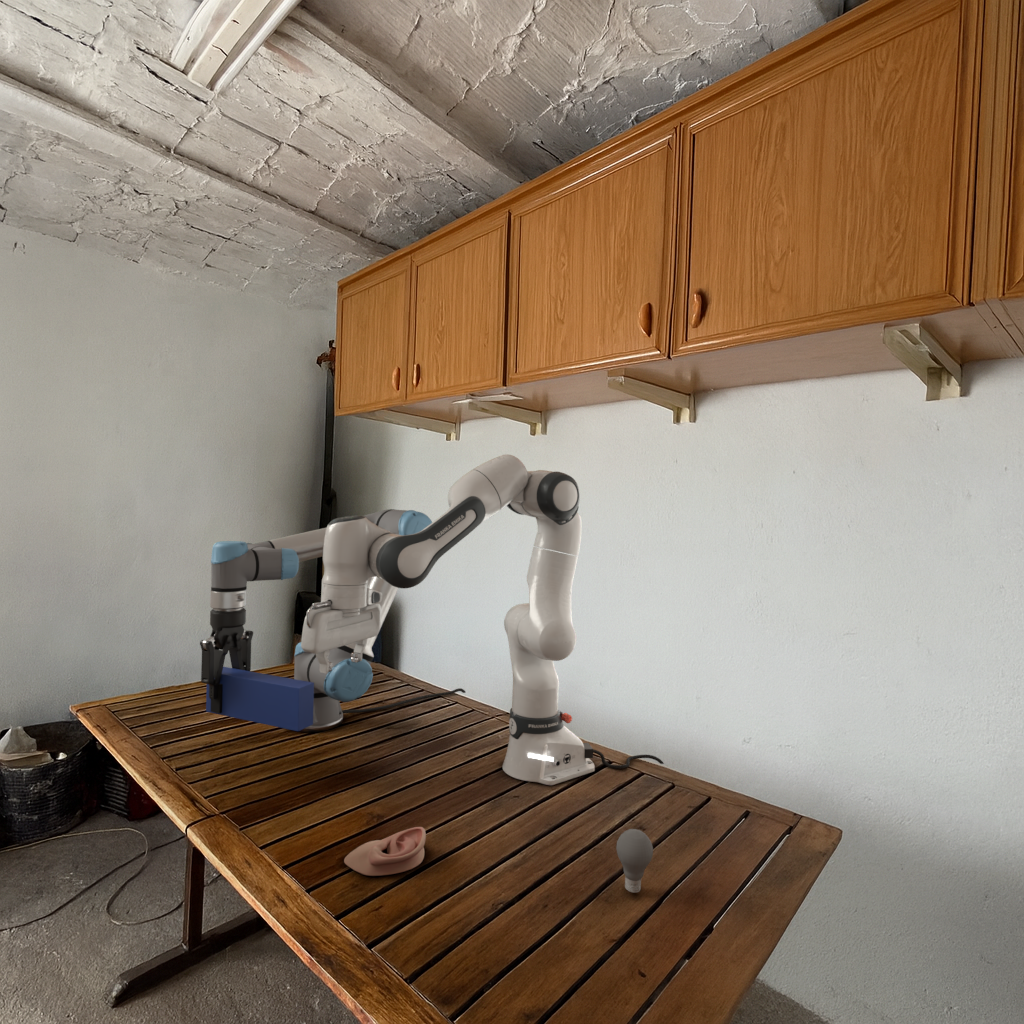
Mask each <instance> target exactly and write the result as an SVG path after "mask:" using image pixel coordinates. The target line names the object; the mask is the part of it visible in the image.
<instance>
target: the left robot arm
mask: <svg viewBox="0 0 1024 1024" xmlns="http://www.w3.org/2000/svg"><path fill="white" fill-rule="evenodd" d="M363 516H365V517H366V518H367V519H368V520H369V521H370V522H372V523H373V524H375V525H377V526H379V527H380V528H382V529H385V530H387V531H389V532H392V533H394V534H399V535H411V534H415V533H418V532H420V531H422V530H423V529H424V528H426V527H427V526H428V525H430V524H431V523H432V522H433V521H432V519H431V517H429V516H428V515H427V514H425V513H424V512H422V511H416V510H413V509H409V510H408V509H407V510H406V509H405V510H404V509H392V508H389V509H383V510H379V511H375V512H372V513H371V512H370V513H368V514H363ZM326 529H327V527H322V528H319V529H313V530H309V531H305V532H300V533H295V534H291V535H287V536H282V537H277V538H273V539H269V540H264V541H260V542H256V543H251V542H246V541H241V540H223V541H221V540H220V541H216V542H215V543H214V544H213V545H212V549H211V557H210V558H211V559H210V564H211V565H210V566H211V568H210V569H211V570H210V575H211V576H210V579H211V580H210V581H211V582H210V603H209V604H210V605H209V606H210V608H211V610H209V611H210V612H209V625H210V626H211V633H210V636H209V637H207V638H206V639H201V640H200V641H199V646H200V649H201V667H200V668H201V669H200V670H201V671H200V672H201V673H200V683H202V684H206V685H207V684H209V698H210V699H211V712H215V713H222V692H223V684H219V683H220V679H221V675H222V670H223V667H224V666H225V665H224V664H225V660H226V659H225V658H226V656H227V655H228V654H229V658H230V663H231V668H234V669H240V670H245V671H251V667H252V641H253V637H254V636H253V635H254V631H253V630H248V629H245V627H244V625H245V624H246V622H247V610H246V608H245V607H246V605H247V589H248V588H247V587H248V586H247V584H248V582H258V581H278V580H279V581H283V580H288V579H293V578H295V577H296V576H297V574H298V573H299V568H300V563H301V562H305V561H308V560H309V561H310V560H313V559H317V558H321V557H322V558H323V547H324V538H325V533H326ZM368 588H370V589H372V590H375V591H378V592H381V593H382V601H381V602H380V603H379V604H380V607H381V623H380V629H381V628H382V627H383V624H384V622H385V620H386V618H387V615H388V613H389V610H390V608H391V606H392V604H393V602H394V599H395V598H396V595H397V593H398V591H399V588H397V587H394V586H392V585H391V584H389V583H388V582H386V581H385V580H382V579H380V578H378V577H370V578H369V579H368ZM379 633H380V631H379V632H378V634H377V636H374V637H371V638H368V639H367V644H366V646H365V649H364V651H363V653H362V661H360V662H357V663H356V662H352V661H351V653H353V652H354V649H355V645H356V644H355V643H351V644H348V645H344V646H341V647H338V648H334V649H331V650H329V655H328V656H327V657H328V660H329V662H330V663H332V671H331V672H328V673H321V672H320V663H319V661H318V659H317V657H316V654H314V653H308V652H304V651H303V649H302V647H301V641H300V642H297V644H296V645H295V650H294V655H293V657H294V672H293V679H296V680H302V681H307V682H313V683H314V702H313V725H311V726H308V727H306V728H304V729H302V730H300V731H299V732H301V733H316V732H325V731H329V730H332V729H335V728H337V727H339V726H340V725H342V723H343V722H344V714H357V713H358V714H360V713H361V714H362V713H369V712H377V711H381V710H385V709H391V708H395V707H397V706H400V705H404V704H409V703H412V702H417V701H420V700H425V699H429V698H434V697H435V698H436V697H442V696H449V695H453V694H455V693H458V692H461V693H462V694H465V693H466V690H465V689H463V688H460V687H459V688H455V689H453V690H450V691H443V692H438V693H431V694H426V695H421V696H417V697H413V698H408V699H403V700H401V701H399V702H394V703H390V704H386V705H382V706H376V707H370V708H362V709H361V708H360V709H342V706H341V702H343V703H348V702H349V703H350V702H353V701H355V700H357V699H359V698H361V697H362V696H364V694H366V692H368V690H369V688H370V686H371V684H372V682H373V678H374V672H373V667H372V666H371V664H372V663H373V660H374V657H375V655H374V652H373V649H372V648H373V646H374V644H375V642H376V640H377V638H378V635H379ZM214 678H215V679H214ZM215 713H214V714H215Z"/></svg>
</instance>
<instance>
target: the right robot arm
mask: <svg viewBox="0 0 1024 1024" xmlns="http://www.w3.org/2000/svg"><path fill="white" fill-rule="evenodd" d="M580 499H581V498H580V489H579V485H578V483H577V481H576V480H575V479H574V478H573V477H572V476H571V475H569V474H567V473H564V472H561V471H551V470H545V469H544V470H543V469H537V470H527V468H526V466H525V464H524V463H523V462H522V460H520V459H519V458H518V457H517V456H515V455H512V454H501V455H499V456H497V457H494V458H491V459H490V460H487V461H485V462H483V463H481V464H480V465H478V466H476V467H474V468H473V469H471V470H469V471H468V472H466V473H465V474H463V475H462V476H461V477H460V478H459V479H457V480H456V481H455V482H454V483H453V484H452V485H451V486H450V487H449V490H448V494H447V503H448V507H449V508H448V509H447V510H446V511H445V512H444V513H443V514H441V515H440V516H439V517H438V518H436V519H435V520H434V521H432V523H431V524H430V525H428V526H427V527H426V528H424V529H423V530H422V531H420V532H418V533H415V534H411V535H399V534H394V533H392V532H389V531H387V530H385V529H382V528H380V527H379V526H377V525H375V524H373V523H372V522H370V521H369V520H368V519H367V518H366V517H365V516H364V515H357V514H355V515H345V516H340V517H337V518H333V519H332V520H331V521H330V522H329V523H328V524H327V526H326V528H327V529H326V533H325V538H324V547H323V556H322V563H323V570H324V571H323V576H322V579H321V591H320V592H321V593H320V594H321V595H320V602H314V603H312V604H311V606H310V607H309V608H308V609H307V611H306V615H305V617H304V621H303V625H302V632H301V639H300V640H301V641H300V642H301V647H302V649H303V651H304V652H308V653H314V654H316V657H317V659H318V661H319V663H320V672H321V673H328V672H331V671H332V663H330V662H329V660H328V657H327V656H328V655H329V650H331V649H334V648H338V647H341V646H344V645H348V644H351V643H355V644H356V645H355V649H354V652H353V653H351V661H352V662H356V663H357V662H360V661H362V653H363V651H364V649H365V646H366V644H367V639H368V638H371V637H374V636H377V637H378V635H379V633H380V631H381V628H380V623H381V607H380V604H379V603H380V602H381V601H382V593H381V592H378V591H375V590H372V589H370V588H368V579H369V578H370V577H378V578H380V579H382V580H385V581H386V582H388V583H389V584H391V585H392V586H394V587H397V588H398V589H411V588H413V587H416V586H418V585H420V584H421V583H422V582H423V581H424V580H426V578H427V577H428V576H429V574H430V572H431V570H433V567H434V566H435V564H436V563H437V562H438V561H439V560H440V558H441V557H442V556H444V555H445V554H446V553H447V552H449V551H450V550H451V549H452V548H454V547H455V546H456V545H458V543H460V542H461V541H462V540H464V538H466V537H467V536H468V535H470V534H471V533H472V532H473V531H474V530H476V528H478V527H479V526H480V525H481V524H483V523H484V522H485V521H488V520H489V519H490V518H492V517H493V516H495V515H496V514H497V513H499V512H500V511H502V510H503V509H504V508H505V507H507V508H508V509H509V510H510V511H512V512H513V513H516V514H517V515H523V516H527V517H531V518H535V520H536V525H537V531H536V535H535V539H534V543H533V546H532V550H531V556H530V560H529V565H528V570H527V574H526V582H527V586H528V595H529V596H528V602H523V603H518V604H515V605H513V606H511V607H510V608H509V609H508V611H507V612H506V613H505V616H504V620H503V627H504V631H505V633H506V636H507V641H508V649H509V656H510V663H511V671H512V672H511V673H512V694H511V695H512V696H511V708H510V710H509V718H508V719H509V720H508V721H509V722H508V733H509V738H508V743H507V748H506V753H505V757H504V760H503V763H502V767H501V768H502V770H503V772H504V773H505V774H506V775H508V777H509V776H510V777H512V778H514V779H517V780H519V781H520V780H521V781H525V782H533V783H539V784H542V785H546V786H554V785H557V784H561V783H563V782H566V781H569V780H573V779H576V778H578V777H581V776H585V775H588V774H590V773H593V772H595V771H596V766H595V763H594V762H593V760H592V759H593V758H594V754H596V755H598V756H599V757H600V758H601V763H602V764H603V765H604V766H605V767H606V768H607V767H608V768H610V769H614V770H622V769H627V768H629V767H630V761H633V760H639V759H652V760H654V761H656V762H657V763H659V764H660V765H664V764H665V763H664V761H663V760H662V759H660V758H659V757H657V756H654V755H653V754H652V755H651V754H637V755H632V756H628V757H627V758H626V763H625V764H620V765H619V764H618V765H617V764H610V763H608V762H607V761H606V759H605V756H604V754H603V753H602V752H601V751H599V750H596V749H594V748H593V747H592V745H591V744H590V743H589V742H583V741H582V739H581V738H580V737H579V736H578V735H576V734H575V733H574V732H573V731H572V730H570V729H569V728H568V727H566V726H565V725H564V723H566V724H570V723H571V722H572V721H573V716H572V715H571V714H569V713H567V712H564V713H563V711H562V710H560V709H559V690H560V689H559V688H560V680H559V675H558V673H557V670H556V666H555V662H558V661H559V662H560V661H562V660H565V659H566V658H568V657H569V656H570V655H571V654H572V653H573V651H574V650H575V647H576V645H577V632H576V629H575V627H574V623H573V613H572V594H573V593H572V591H573V583H574V577H575V573H576V568H577V563H578V559H579V554H580V550H581V549H580V548H581V543H582V542H581V541H582V532H583V531H582V529H583V528H582V526H583V521H582V517H581V515H580V514H579V512H578V511H579V504H580ZM378 632H379V633H378ZM377 634H378V635H377Z"/></svg>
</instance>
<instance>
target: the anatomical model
mask: <svg viewBox="0 0 1024 1024" xmlns="http://www.w3.org/2000/svg"><path fill="white" fill-rule="evenodd" d="M426 839H427V834H426V829H425V827H423V826H415V827H411V828H407V829H404V830H401V831H398V832H396V833H394V834H392V835H389V836H387V837H385V838H383V839H376V840H370V841H368V842H365V843H363V844H361V845H359V846H357V847H356V848H355V849H353V850H352V851H350V852H349V853H348V854H347V855H346V856H345V857H344V859H343V863H344V865H346V866H347V867H348V868H350V869H352V870H353V871H355V872H356V873H359V874H361V875H364V876H369V877H377V876H389V875H394V874H395V875H396V874H399V873H403V872H407V871H409V870H412V869H414V868H416V867H418V866H419V865H421V863H422V862H423V860H424V859H425V848H424V846H425V844H426Z"/></svg>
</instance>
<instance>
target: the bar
mask: <svg viewBox="0 0 1024 1024" xmlns="http://www.w3.org/2000/svg"><path fill="white" fill-rule="evenodd" d="M214 679H215V678H214ZM219 684H223V692H222V713H215V712H211V699H210V698H209V684H206V692H205V693H206V694H205V695H206V696H205V697H206V698H205V712H206V713H210V714H211V713H212V714H215V715H221V716H224V717H230V718H234V719H238V720H243V721H248V722H253V723H257V724H262V725H266V726H271V727H274V728H275V727H276V728H280V729H284V730H289V731H294V732H301V731H300V730H302V729H304V728H306V727H308V726H311V725H313V702H314V683H313V682H307V681H302V680H296V679H294V678H289V677H285V676H279V675H272V674H268V673H263V672H262V673H261V672H255V671H251V670H250V671H245V670H240V669H234V668H232V667H228V666H223V670H222V675H221V679H220V683H219Z"/></svg>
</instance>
